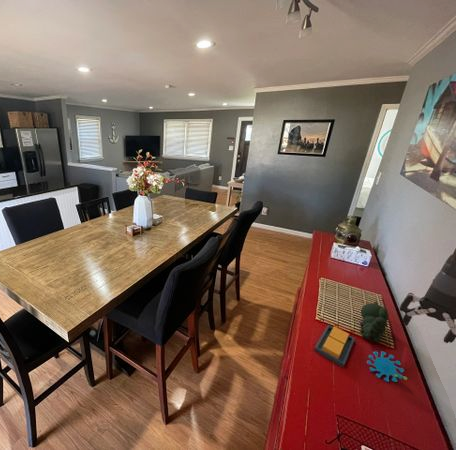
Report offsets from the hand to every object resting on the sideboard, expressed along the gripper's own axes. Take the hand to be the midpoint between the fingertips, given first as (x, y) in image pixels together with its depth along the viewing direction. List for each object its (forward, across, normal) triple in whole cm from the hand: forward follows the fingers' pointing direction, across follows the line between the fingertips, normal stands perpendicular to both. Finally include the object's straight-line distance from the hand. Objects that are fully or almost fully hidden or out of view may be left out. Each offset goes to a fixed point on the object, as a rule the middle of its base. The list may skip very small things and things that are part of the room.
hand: (424, 332), depth 73 cm
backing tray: (+28, -18, +8) cm, 34 cm away
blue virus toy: (+28, -2, +8) cm, 29 cm away
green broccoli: (+28, -10, +30) cm, 43 cm away
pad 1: (+28, -18, +12) cm, 35 cm away
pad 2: (+28, -18, +4) cm, 33 cm away
